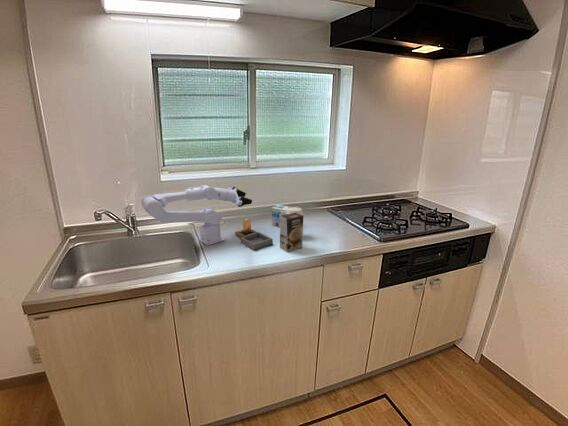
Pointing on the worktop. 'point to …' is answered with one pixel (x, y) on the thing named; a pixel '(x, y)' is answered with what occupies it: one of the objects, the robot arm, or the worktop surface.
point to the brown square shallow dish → (240, 234)
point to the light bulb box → (278, 214)
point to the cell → (246, 226)
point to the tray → (256, 241)
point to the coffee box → (291, 231)
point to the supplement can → (294, 210)
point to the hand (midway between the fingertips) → (248, 198)
